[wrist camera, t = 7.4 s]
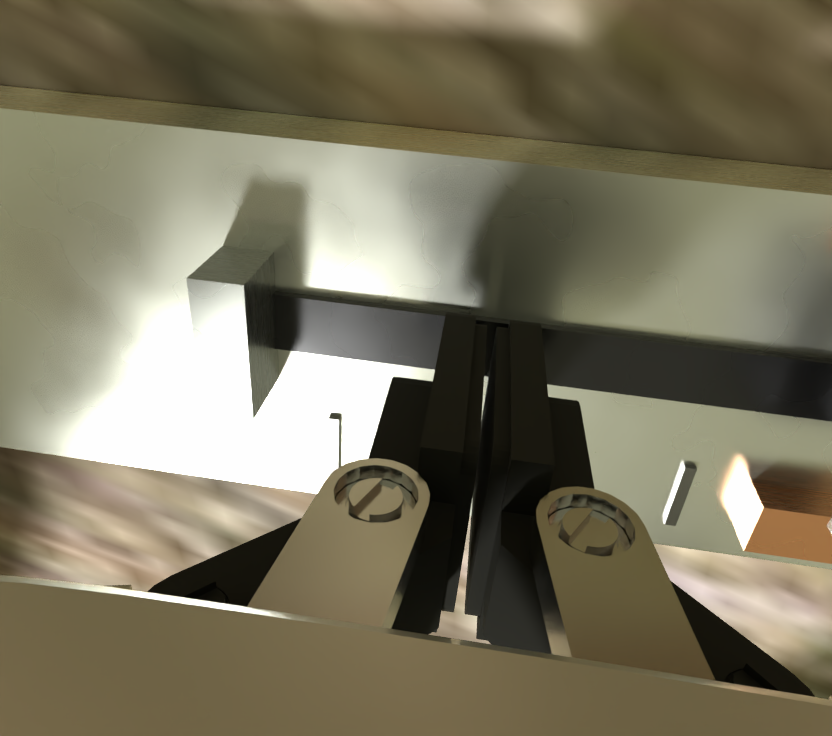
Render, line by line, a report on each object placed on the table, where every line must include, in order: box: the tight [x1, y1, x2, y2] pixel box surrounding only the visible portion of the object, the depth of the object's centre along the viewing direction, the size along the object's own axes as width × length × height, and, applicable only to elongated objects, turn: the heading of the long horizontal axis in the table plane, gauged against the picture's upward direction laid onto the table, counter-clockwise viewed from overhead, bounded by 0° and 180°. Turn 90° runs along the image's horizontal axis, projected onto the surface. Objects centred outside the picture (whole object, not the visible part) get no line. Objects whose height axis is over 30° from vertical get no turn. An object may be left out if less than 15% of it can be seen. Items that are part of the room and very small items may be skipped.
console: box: [0, 85, 832, 569], centre depth 13 cm, size 8×23×4 cm, turn 86°
